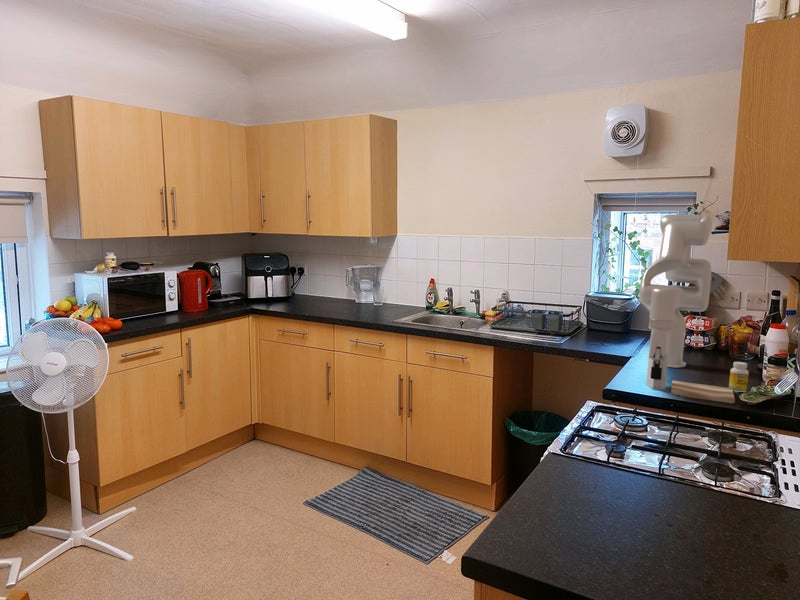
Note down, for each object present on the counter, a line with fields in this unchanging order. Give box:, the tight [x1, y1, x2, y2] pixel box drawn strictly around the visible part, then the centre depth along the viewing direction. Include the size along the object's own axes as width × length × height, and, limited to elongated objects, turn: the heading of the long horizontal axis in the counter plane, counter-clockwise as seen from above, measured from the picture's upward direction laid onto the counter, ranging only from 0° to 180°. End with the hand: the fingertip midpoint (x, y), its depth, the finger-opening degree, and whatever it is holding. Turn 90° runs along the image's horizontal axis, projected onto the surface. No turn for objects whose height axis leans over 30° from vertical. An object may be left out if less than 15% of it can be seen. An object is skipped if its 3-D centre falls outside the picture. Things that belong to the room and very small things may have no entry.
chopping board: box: [670, 380, 736, 404], centre depth 193 cm, size 14×18×2 cm
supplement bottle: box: [728, 361, 750, 393], centre depth 197 cm, size 5×5×10 cm
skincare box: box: [645, 351, 668, 390], centre depth 198 cm, size 6×4×12 cm
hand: (656, 376), depth 198 cm, fingers closed on skincare box, 7 cm apart
